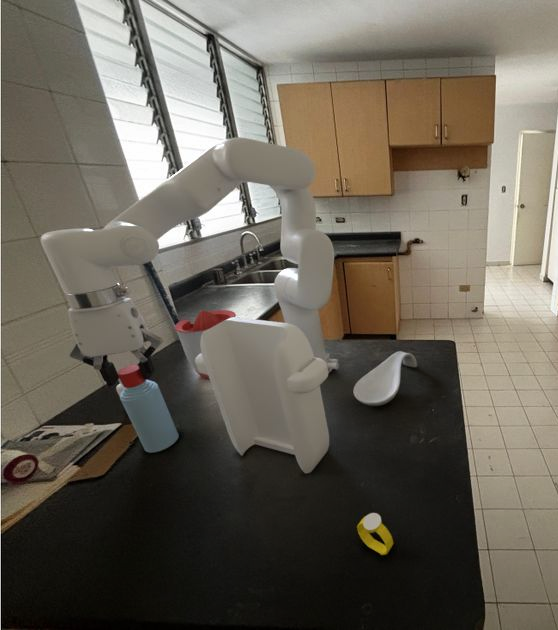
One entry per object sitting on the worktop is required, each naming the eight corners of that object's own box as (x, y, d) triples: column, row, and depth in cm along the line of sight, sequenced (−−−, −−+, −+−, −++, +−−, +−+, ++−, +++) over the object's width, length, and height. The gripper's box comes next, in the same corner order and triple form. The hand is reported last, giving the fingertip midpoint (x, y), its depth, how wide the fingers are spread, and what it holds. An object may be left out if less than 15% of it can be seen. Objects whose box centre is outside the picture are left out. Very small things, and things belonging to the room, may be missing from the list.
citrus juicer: (231, 351, 116) (215, 296, 108) (258, 364, 106) (243, 306, 98) (181, 372, 104) (159, 313, 96) (207, 389, 95) (184, 325, 87)
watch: (397, 548, 52) (394, 523, 50) (386, 565, 50) (383, 539, 48) (367, 530, 55) (363, 505, 53) (356, 545, 53) (351, 519, 51)
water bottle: (185, 433, 78) (156, 363, 71) (161, 454, 73) (127, 380, 65) (162, 430, 80) (132, 361, 72) (137, 450, 74) (101, 378, 67)
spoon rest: (384, 418, 80) (382, 394, 77) (345, 406, 85) (341, 382, 82) (427, 369, 99) (426, 348, 97) (393, 361, 104) (391, 341, 102)
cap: (151, 377, 71) (146, 364, 70) (134, 388, 68) (127, 375, 66) (136, 376, 72) (130, 363, 71) (118, 387, 69) (112, 373, 67)
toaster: (355, 442, 74) (336, 317, 62) (326, 483, 64) (297, 345, 52) (257, 418, 82) (224, 305, 70) (218, 452, 72) (173, 327, 61)
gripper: (157, 285, 68) (184, 362, 75) (51, 297, 63) (91, 378, 70) (142, 297, 62) (173, 380, 68) (23, 311, 57) (69, 399, 64)
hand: (131, 378), depth 69 cm, fingers open, 5 cm apart
